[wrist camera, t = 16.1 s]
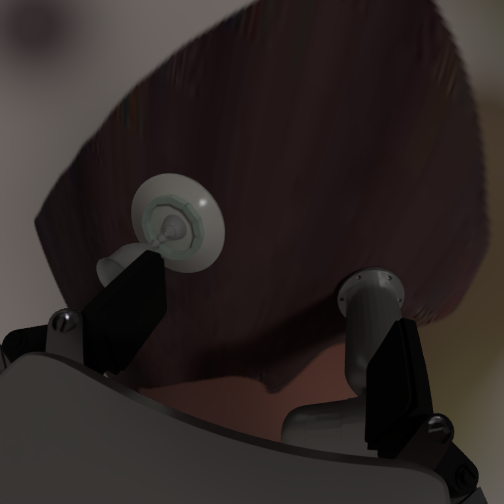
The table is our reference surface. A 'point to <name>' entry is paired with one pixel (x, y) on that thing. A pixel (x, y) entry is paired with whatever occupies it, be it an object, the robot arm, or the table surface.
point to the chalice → (139, 249)
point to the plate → (190, 210)
